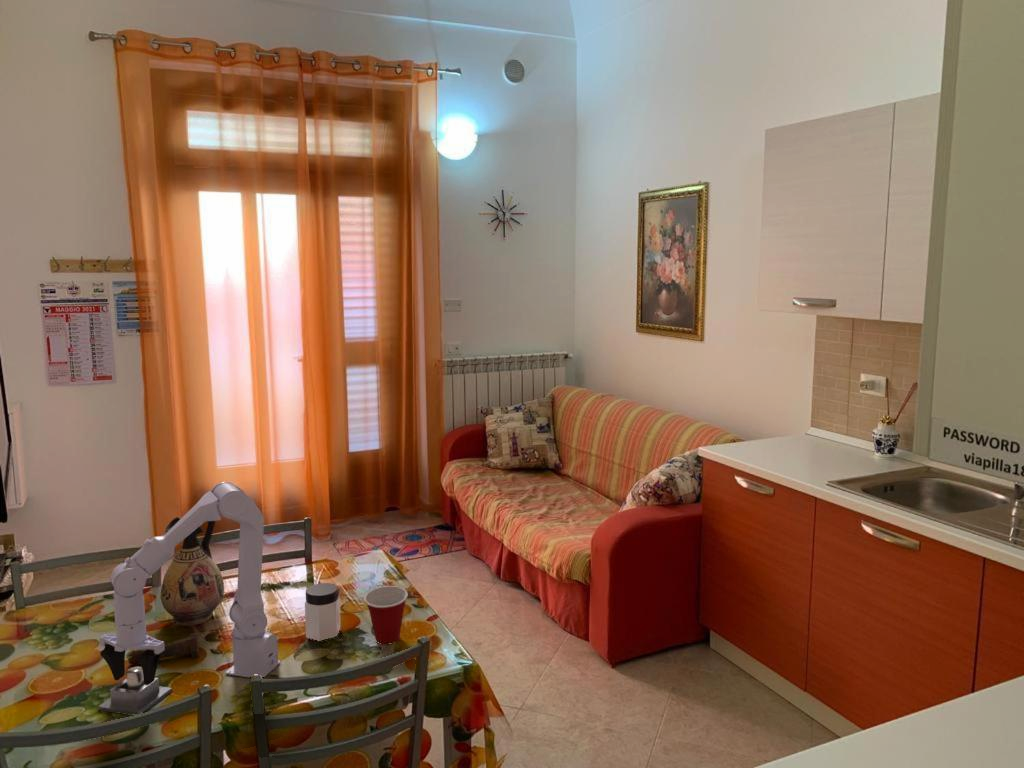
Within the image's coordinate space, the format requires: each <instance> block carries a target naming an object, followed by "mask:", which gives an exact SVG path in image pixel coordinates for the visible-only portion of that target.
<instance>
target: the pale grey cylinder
mask: <svg viewBox="0 0 1024 768" xmlns="http://www.w3.org/2000/svg"><path fill="white" fill-rule="evenodd" d="M125 673H126V675H125V676H126V679H127V689H128V690H134V691H137V690H138V689H139V688H141V687H142V686H144V677H143V670H142V667H141V666H134V667H130V668H128V669H127V670H125Z"/></svg>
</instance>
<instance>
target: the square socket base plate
mask: <svg viewBox="0 0 1024 768" xmlns="http://www.w3.org/2000/svg"><path fill="white" fill-rule="evenodd" d="M172 691H173V689H172V687H168V686H161V685H160V679H159V677H155V679H154V681H153V682H152V683H150V684H149V685H145V683H144V686H142V687H141V688H139V689H138V690H137V691H134V690H128V689H127V678H125V679H124V680H122V681H121V682H119V683H118V684H117V685H115V686H113V687H112V688H111V689H110V690H109V693H110V698H108V699H106V700H105V701H104V702H102V703H101V704H99V705H98V706H97V709H98V711H103V712H108V711H109V712H108V713H114V712H120V713H126V714H130V715H129V716H132V715H131V714H139V713H141V712H144V711H146V710H147V709H148V710H150V709H151V708H152V707H153V706H155V705H156V704H158V702H160V701H162V700H163V699H165V698H166V697H167V696H168V695H169V694H170V693H172ZM149 708H150V709H149ZM148 710H147V711H148ZM147 711H146V712H147ZM120 713H119V714H120ZM144 713H145V712H144ZM126 714H125V715H126Z"/></svg>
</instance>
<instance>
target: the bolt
mask: <svg viewBox="0 0 1024 768" xmlns="http://www.w3.org/2000/svg"><path fill="white" fill-rule="evenodd" d="M164 648H165V650H164V652H163V654H162V656H161V658H160V660H163V659H170V658H175V657H179V656H186V655H191V658H192V659H194V658H195V659H196V658H199V656H200V645H199V634H197V633H196V632H193V633H190V637H189V639H184V640H181V641H176V642H173V643H172V642H171V643H166V644H165V643H164ZM143 653H145V651H144V650H137V649H134V650H132V651H131V652H129V654H127V657H129V658H128V664H129V665H131V666H133V665H134V666H135V665H139V664H140V662H139V660H138V657H139V656H140V655H142V654H143Z"/></svg>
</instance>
